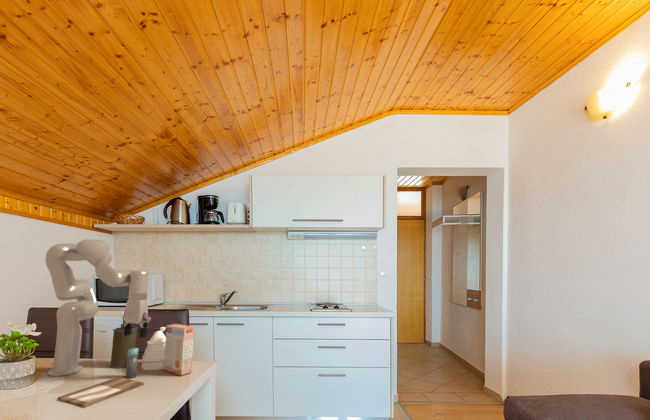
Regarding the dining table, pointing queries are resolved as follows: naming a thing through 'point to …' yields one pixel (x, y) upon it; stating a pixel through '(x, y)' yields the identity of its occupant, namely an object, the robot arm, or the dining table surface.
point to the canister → (122, 346)
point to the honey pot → (154, 351)
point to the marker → (131, 363)
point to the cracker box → (178, 349)
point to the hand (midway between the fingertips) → (135, 336)
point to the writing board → (100, 392)
